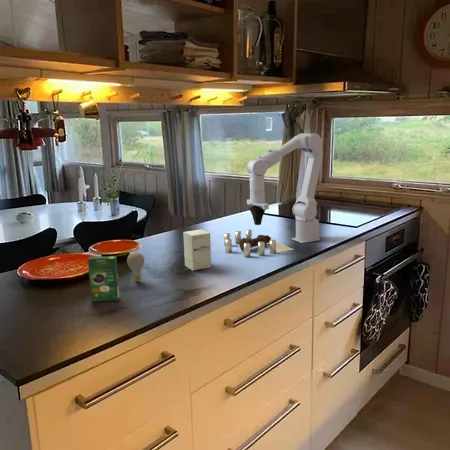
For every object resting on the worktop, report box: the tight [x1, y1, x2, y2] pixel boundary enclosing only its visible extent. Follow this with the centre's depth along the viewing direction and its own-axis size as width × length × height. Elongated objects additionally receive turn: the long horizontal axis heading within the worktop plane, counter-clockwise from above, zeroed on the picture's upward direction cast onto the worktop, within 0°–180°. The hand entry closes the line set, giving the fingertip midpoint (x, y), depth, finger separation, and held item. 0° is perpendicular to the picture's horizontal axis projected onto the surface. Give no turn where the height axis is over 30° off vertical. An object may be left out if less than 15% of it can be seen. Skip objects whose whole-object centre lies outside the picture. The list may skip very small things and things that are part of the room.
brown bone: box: [239, 234, 272, 252], centre depth 183 cm, size 6×5×15 cm
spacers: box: [223, 229, 277, 258], centre depth 181 cm, size 16×22×5 cm
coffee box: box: [87, 255, 120, 303], centre depth 133 cm, size 8×3×13 cm, turn 93°
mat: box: [265, 238, 295, 253], centre depth 186 cm, size 7×20×1 cm, turn 24°
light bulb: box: [126, 251, 145, 283], centre depth 147 cm, size 6×6×10 cm
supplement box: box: [182, 229, 212, 271], centre depth 161 cm, size 7×7×13 cm
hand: (257, 224), depth 182 cm, fingers closed
